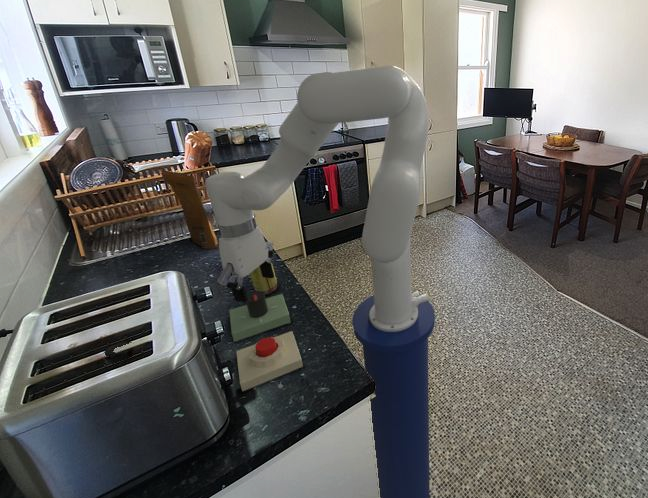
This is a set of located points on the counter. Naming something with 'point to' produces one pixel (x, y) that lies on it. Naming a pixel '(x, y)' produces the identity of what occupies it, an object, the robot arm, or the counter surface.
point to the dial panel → (258, 319)
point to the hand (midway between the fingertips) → (255, 288)
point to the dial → (256, 304)
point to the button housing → (268, 362)
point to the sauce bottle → (263, 281)
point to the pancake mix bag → (192, 208)
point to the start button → (266, 347)
